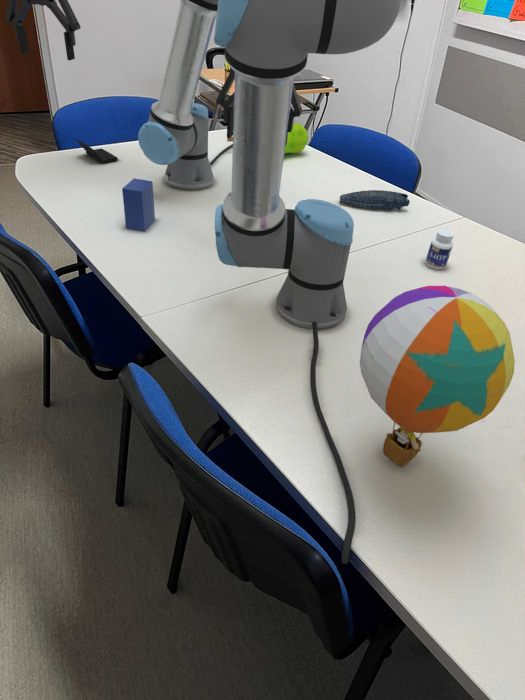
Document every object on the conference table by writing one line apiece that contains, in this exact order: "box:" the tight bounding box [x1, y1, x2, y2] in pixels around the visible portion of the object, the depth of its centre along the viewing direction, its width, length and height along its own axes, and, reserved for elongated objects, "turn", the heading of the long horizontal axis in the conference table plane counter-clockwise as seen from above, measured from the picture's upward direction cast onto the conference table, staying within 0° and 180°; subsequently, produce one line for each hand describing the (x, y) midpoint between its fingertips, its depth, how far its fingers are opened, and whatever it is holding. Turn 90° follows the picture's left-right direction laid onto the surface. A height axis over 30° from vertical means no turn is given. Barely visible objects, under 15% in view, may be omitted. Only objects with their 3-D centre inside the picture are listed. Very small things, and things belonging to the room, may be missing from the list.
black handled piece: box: [75, 138, 119, 164], centre depth 173 cm, size 12×7×10 cm
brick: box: [121, 177, 156, 233], centre depth 136 cm, size 5×7×11 cm
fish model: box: [339, 189, 411, 211], centre depth 158 cm, size 7×21×5 cm, turn 84°
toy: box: [359, 285, 516, 468], centre depth 73 cm, size 20×20×30 cm
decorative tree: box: [226, 122, 309, 155], centre depth 188 cm, size 18×10×30 cm
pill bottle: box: [424, 228, 455, 270], centre depth 130 cm, size 5×5×9 cm
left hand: (48, 56), depth 143 cm, fingers open, 13 cm apart
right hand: (256, 141), depth 126 cm, fingers open, 13 cm apart
